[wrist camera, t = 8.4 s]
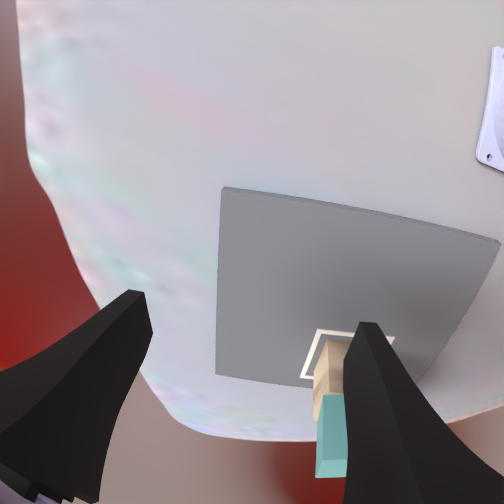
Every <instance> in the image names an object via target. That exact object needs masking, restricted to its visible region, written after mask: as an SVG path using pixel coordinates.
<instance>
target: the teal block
mask: <svg viewBox="0 0 504 504" xmlns="http://www.w3.org/2000/svg"><path fill="white" fill-rule="evenodd" d="M347 456H348V442H347V428H346V416H345V405H344V394H337V395H323V398H322V403H321V408H320V413H319V418H318V422H317V456H316V476H315V477H316V478H326V477H327V478H328V477H346V471H347Z"/></svg>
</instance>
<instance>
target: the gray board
mask: <svg viewBox="0 0 504 504" xmlns="http://www.w3.org/2000/svg"><path fill="white" fill-rule="evenodd" d="M500 246H501V244H500V243H499V241H498V240H494V239H491V238H487V237H484V236H480V235H476V234H472V233H469V232H465V231H461V230H457V229H453V228H449V227H445V226H441V225H436V224H432V223H428V222H424V221H419V220H415V219H410V218H406V217H401V216H396V215H392V214H387V213H382V212H377V211H372V210H367V209H362V208H357V207H351V206H346V205H341V204H335V203H329V202H324V201H318V200H312V199H306V198H300V197H293V196H287V195H280V194H274V193H267V192H260V191H252V190H245V189H237V188H229V187H223V189H222V190H221V208H220V228H219V250H218V277H217V310H216V372H215V374H218V375H223V376H228V377H234V378H240V379H246V380H252V381H258V382H265V383H272V384H279V385H287V386H296V387H305V388H313V385H314V370H315V367H316V365H317V363H318V360H319V358H320V355H321V353H322V351H323V348H324V346H325V343H326V341H327V339H331V340H340V341H350V342H351V341H352V339H353V337H354V334H355V332H356V329H357V327H358V325H359V322H360V321H362V322H374V323H377V324H378V325H379V327H380V328H381V330H382V332H383V333H384V335H385V336H386V338H387V340H388V341H389V343H390V345H391V346H392V348H393V350H394V351H395V353H396V354H397V356H398V358H399V359H400V361H401V363H402V364H403V366H404V367H405V369H406V370H407V372H408V373H409V375H410V377H411V378H412V380H413V381H414V383H415V384H416V383H417V382H418V381H419V379H420V378H421V377H422V376H423V374H424V373H425V372H426V370H427V369H428V368H429V366H430V365H431V364H432V362H433V361H434V360H435V358H436V357H437V356H438V354H439V353H440V351H441V350H442V349H443V347H444V346H445V344H446V343H447V341H448V340H449V338H450V337H451V335H452V334H453V332H454V331H455V329H456V328H457V326H458V325H459V323H460V321H461V320H462V318H463V317H464V315H465V313H466V312H467V310H468V308H469V307H470V305H471V303H472V301H473V300H474V298H475V296H476V294H477V292H478V291H479V289H480V287H481V285H482V283H483V281H484V279H485V278H486V276H487V274H488V272H489V270H490V268H491V266H492V263H493V261H494V259H495V257H496V255H497V253H498V251H499V248H500Z"/></svg>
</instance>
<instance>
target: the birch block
mask: <svg viewBox="0 0 504 504" xmlns="http://www.w3.org/2000/svg"><path fill="white" fill-rule="evenodd" d="M350 344H351V342H350V341H340V340H331V339H327V341H326V343H325V346H324V348H323V351H322V353H321V355H320V358H319V360H318V363H317V365H316V367H315V370H314V385H313V420H317V421H318V418H319V413H320V408H321V403H322V398H323V395H337V394H343V360H344V358H345V355H346V353H347V351H348V348H349V346H350Z"/></svg>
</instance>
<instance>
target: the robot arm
mask: <svg viewBox="0 0 504 504" xmlns="http://www.w3.org/2000/svg"><path fill="white" fill-rule="evenodd" d="M503 55H504V49H503V48H501V47H499V46H495V47H493V49H492V58H491V69H490V78H489V86H488V93H487V100H486V106H485V112H484V117H483V122H482V127H481V132H480V136H479V141H478V145H477V149H476V158H477V160H479V161H480V162H482V163H484V164H486V165H489V166H491V167H493V168H496V169H498V170H500V171H503V172H504V57H503ZM488 154H489V159H488V160H487V155H488ZM152 335H153V331H152V326H151V322H150V318H149V313H148V309H147V304H146V299H145V294H144V292H140V291H135V290H130V289H128V290H127V291H126V292H124V293H123V294H121V295H120V296H119V297H117V298H116V299H115V300H113V301H112V302H111V303H109V304H108V305H107V306H106V307H104V308H103V309H102V310H100V311H99V312H98V313H96V314H95V315H94V316H92V317H91V318H90V319H89V320H87V321H86V322H85V323H83V324H82V325H81V326H79V327H78V328H76V329H75V330H73V331H72V332H71V333H69V334H68V335H66V336H65V337H63V338H62V339H61V340H59V341H58V342H56V343H55V344H53V345H51V346H50V347H48V348H47V349H45V350H43V351H41V352H40V353H38V354H36V355H35V356H33V357H31V358H29V359H27V360H25V361H23V362H21V363H19V364H17V365H15V366H12V367H11V368H8V369H6V370H3V371H1V372H0V504H61V503H62V500H63V499H65V500H67V501H69V502H71V503H72V502H73V500H74V497H77V498H79V499H81V500H83V501H85V502H87V503H89V504H93V503H96V502H98V501H99V492H100V486H101V479H102V473H103V468H104V463H105V459H106V454H107V450H108V446H109V443H110V439H111V435H112V432H113V429H114V426H115V422H116V419H117V416H118V414H119V411H120V409H121V406H122V404H123V402H124V400H125V398H126V396H127V394H128V392H129V389H130V387H131V385H132V383H133V381H134V379H135V377H136V375H137V373H138V371H139V369H140V367H141V365H142V363H143V360H144V358H145V356H146V353H147V350H148V347H149V344H150V341H151V338H152ZM343 394H344V405H345V416H346V428H347V442H348V456H347V471H346V482H345V491H344V498H343V504H504V477H503V476H502V475H501V474H499V473H498V472H496V471H495V470H494V469H492V468H491V467H490V466H488V465H487V464H486V463H485V462H483V461H482V460H481V459H480V458H479V457H478V456H477V455H476V454H474V453H473V452H472V451H471V450H470V449H469V448H468V447H467V446H466V445H465V444H464V443H463V442H462V441H461V440H460V439H459V438H458V437H457V436H456V435H455V434H454V433H453V432H452V431H451V430H450V429H449V427H448V426H447V425H446V424H445V423H444V421H443V420H442V419H441V418H440V416H439V415H438V414H437V413H436V412H435V410H434V409H433V408H432V407H431V405H430V404H429V403H428V401H427V400H426V399H425V397H424V396H423V394H422V393H421V391H420V390H419V389H418V387H417V386H416V384H415V383H414V381H413V380H412V378H411V377H410V375H409V373H408V372H407V370H406V369H405V367H404V366H403V364H402V363H401V361H400V359H399V358H398V356H397V354H396V353H395V351H394V350H393V348H392V346H391V345H390V343H389V341H388V340H387V338H386V336H385V335H384V333H383V332H382V330H381V328H380V327H379V325H378V324H377V323H374V322H362V321H360V322H359V325H358V327H357V329H356V332H355V334H354V337H353V339H352V341H351V344H350V346H349V348H348V351H347V353H346V355H345V358H344V360H343Z"/></svg>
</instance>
